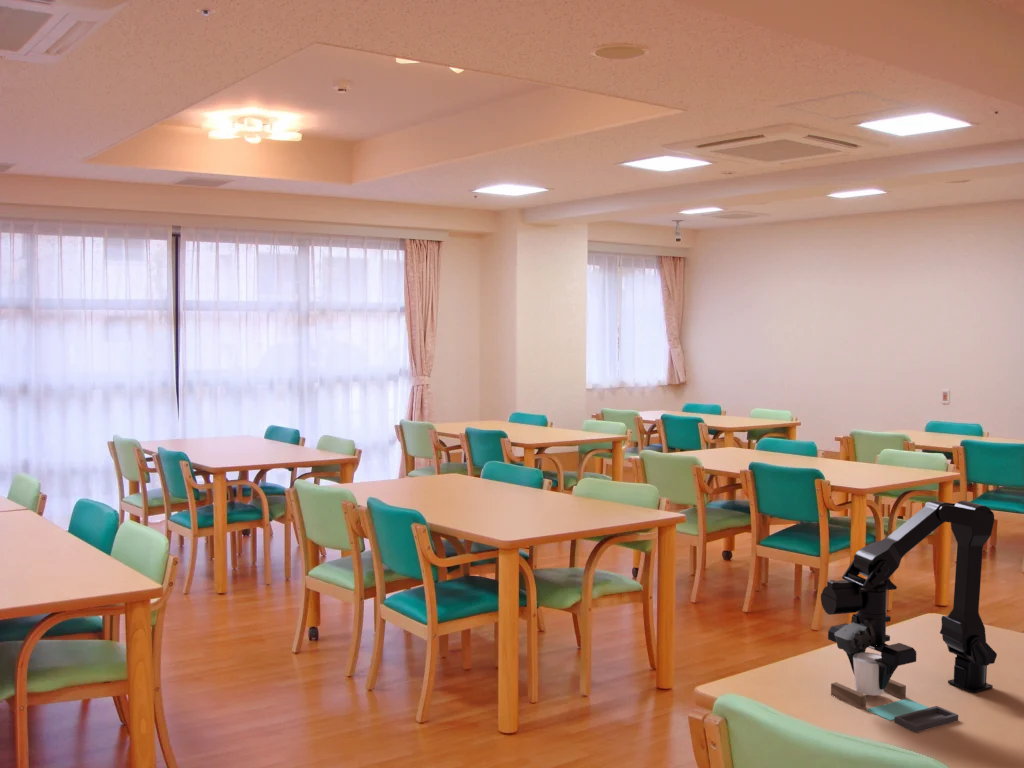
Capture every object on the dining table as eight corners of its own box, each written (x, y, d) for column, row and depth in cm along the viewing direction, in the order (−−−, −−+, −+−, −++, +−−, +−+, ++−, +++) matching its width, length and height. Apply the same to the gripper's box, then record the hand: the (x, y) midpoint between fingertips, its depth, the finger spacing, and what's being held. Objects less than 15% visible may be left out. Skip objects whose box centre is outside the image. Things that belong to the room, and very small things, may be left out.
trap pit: (936, 711, 196) (936, 705, 196) (958, 720, 192) (958, 714, 192) (894, 723, 191) (894, 717, 191) (915, 732, 186) (915, 726, 186)
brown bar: (875, 684, 211) (875, 673, 210) (905, 697, 204) (905, 685, 203) (830, 695, 205) (831, 683, 204) (860, 708, 198) (861, 696, 197)
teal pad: (907, 699, 202) (907, 698, 202) (932, 709, 197) (932, 708, 197) (866, 710, 197) (866, 709, 197) (890, 721, 192) (890, 720, 192)
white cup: (889, 697, 200) (890, 664, 199) (854, 695, 201) (855, 661, 201) (883, 685, 206) (884, 652, 206) (849, 682, 208) (850, 650, 207)
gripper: (809, 604, 207) (808, 675, 208) (879, 629, 191) (877, 707, 192) (847, 597, 212) (846, 667, 213) (919, 620, 196) (917, 696, 197)
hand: (869, 683), depth 204 cm, fingers closed on white cup, 6 cm apart
